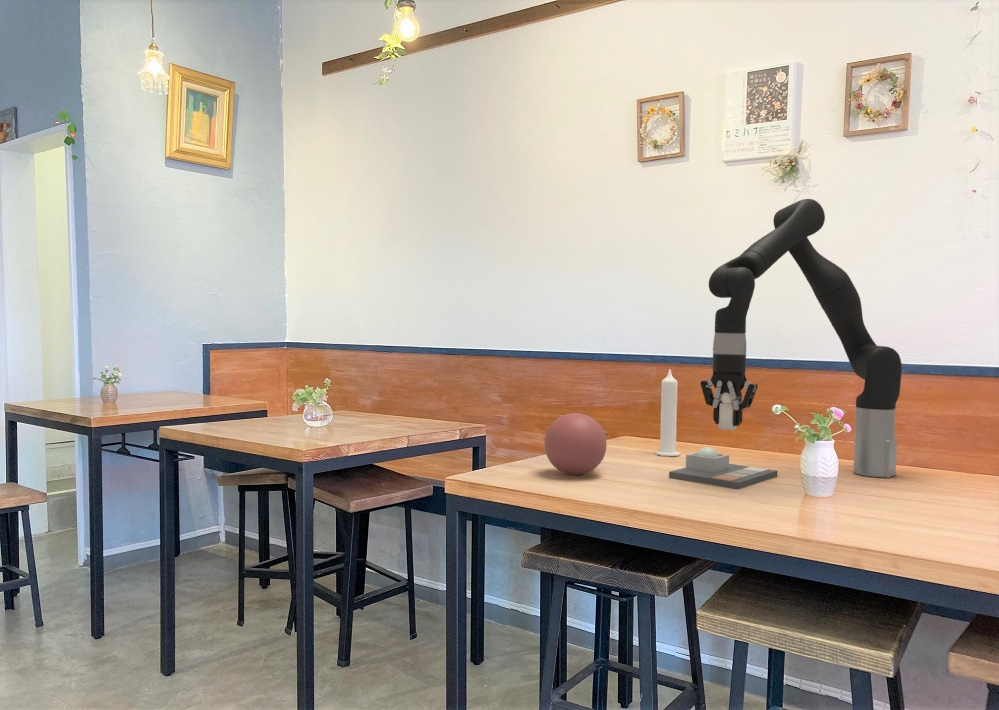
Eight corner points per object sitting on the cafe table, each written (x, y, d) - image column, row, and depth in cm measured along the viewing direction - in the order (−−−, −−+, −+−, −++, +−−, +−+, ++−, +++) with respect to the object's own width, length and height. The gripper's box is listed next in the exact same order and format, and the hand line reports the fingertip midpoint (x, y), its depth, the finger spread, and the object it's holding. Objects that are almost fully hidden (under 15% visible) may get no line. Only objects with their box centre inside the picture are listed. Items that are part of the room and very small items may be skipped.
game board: (777, 476, 191) (777, 456, 191) (738, 489, 175) (738, 467, 175) (711, 466, 203) (712, 448, 203) (669, 477, 187) (669, 457, 187)
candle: (654, 456, 219) (657, 369, 218) (655, 452, 226) (657, 368, 225) (680, 457, 217) (682, 370, 216) (680, 453, 224) (682, 369, 223)
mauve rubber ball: (630, 474, 191) (632, 413, 191) (575, 483, 178) (576, 418, 178) (586, 464, 203) (587, 407, 202) (531, 473, 190) (532, 412, 190)
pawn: (739, 429, 180) (740, 390, 179) (730, 430, 177) (731, 391, 177) (724, 427, 183) (725, 389, 182) (715, 428, 180) (716, 390, 180)
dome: (722, 468, 192) (722, 447, 192) (712, 471, 188) (712, 449, 188) (702, 465, 196) (703, 444, 196) (692, 468, 192) (693, 446, 192)
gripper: (765, 353, 177) (763, 426, 178) (709, 351, 187) (707, 420, 187) (751, 353, 171) (749, 429, 172) (694, 351, 181) (692, 423, 182)
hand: (727, 424), depth 180 cm, fingers closed on pawn, 4 cm apart
